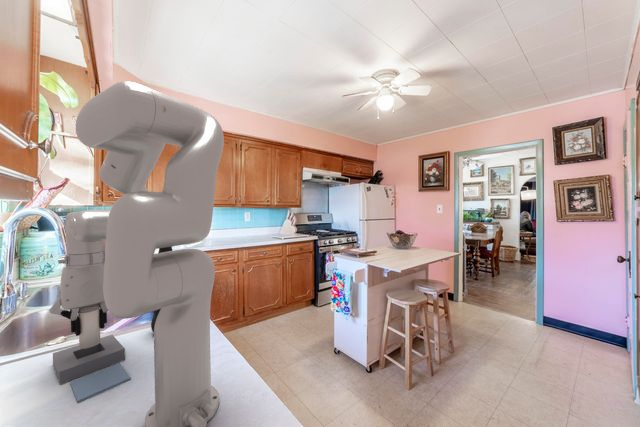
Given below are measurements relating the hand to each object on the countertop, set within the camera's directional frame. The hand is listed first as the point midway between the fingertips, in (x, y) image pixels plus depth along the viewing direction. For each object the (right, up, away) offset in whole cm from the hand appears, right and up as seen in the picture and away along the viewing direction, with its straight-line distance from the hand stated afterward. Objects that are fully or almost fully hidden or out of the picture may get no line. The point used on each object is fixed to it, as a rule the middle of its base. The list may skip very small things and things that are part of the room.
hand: (89, 329), depth 65 cm
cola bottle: (+10, -8, +16) cm, 21 cm away
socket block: (0, -9, 0) cm, 9 cm away
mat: (+9, -9, -7) cm, 14 cm away
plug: (0, -4, 0) cm, 4 cm away
